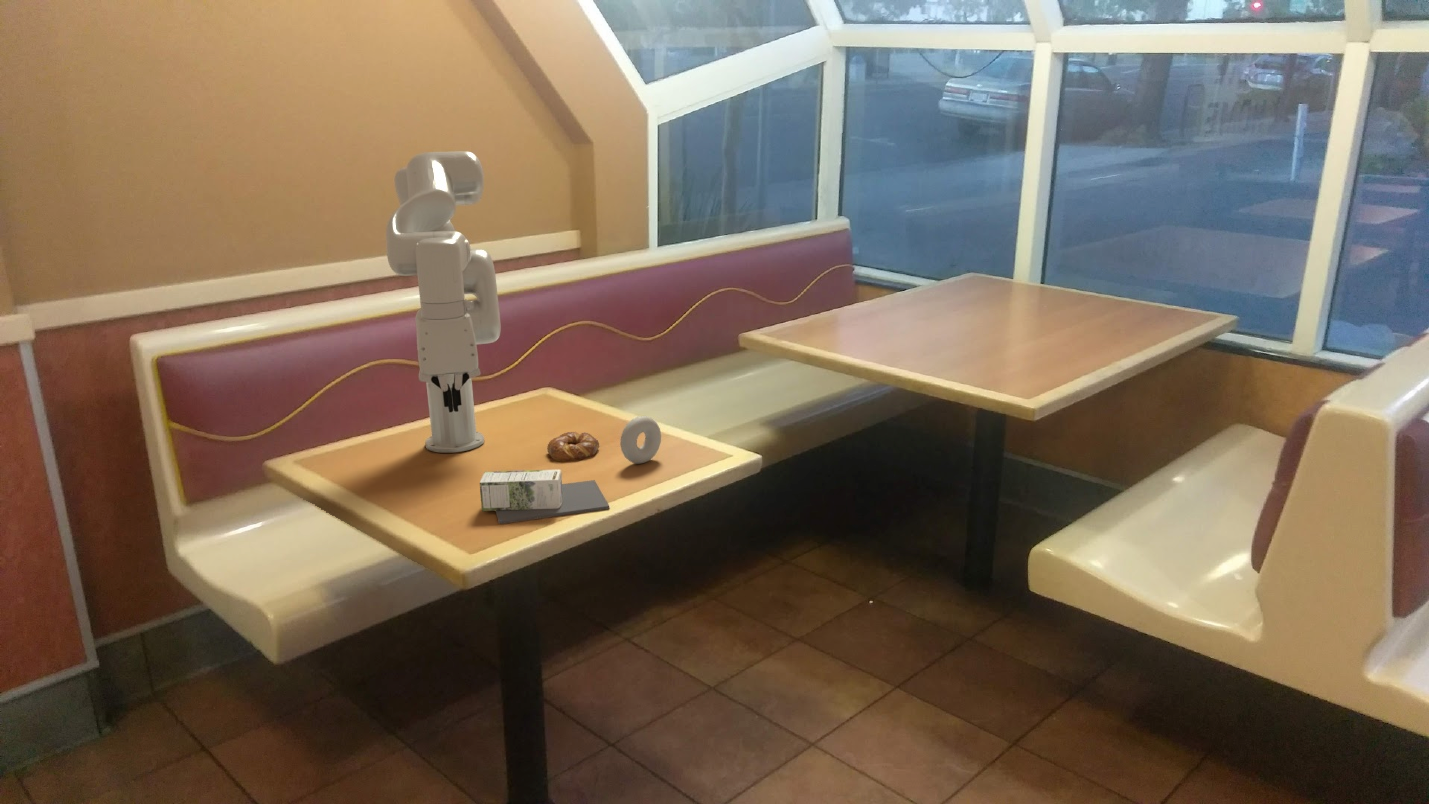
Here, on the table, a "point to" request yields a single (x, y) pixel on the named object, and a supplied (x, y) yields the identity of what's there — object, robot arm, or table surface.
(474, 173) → the robot arm
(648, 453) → the donut
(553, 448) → the pretzel
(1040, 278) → the table surface
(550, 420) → the table surface
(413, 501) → the table surface
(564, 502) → the mat
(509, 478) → the syrup box
